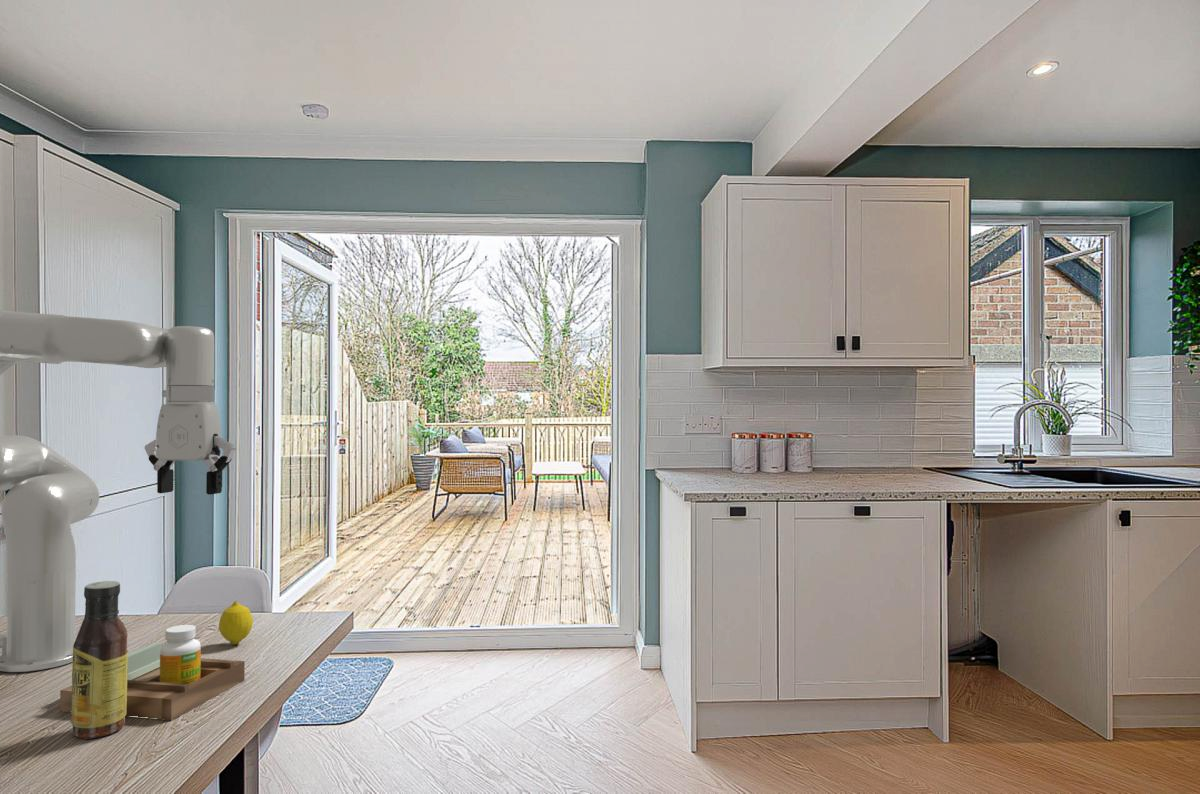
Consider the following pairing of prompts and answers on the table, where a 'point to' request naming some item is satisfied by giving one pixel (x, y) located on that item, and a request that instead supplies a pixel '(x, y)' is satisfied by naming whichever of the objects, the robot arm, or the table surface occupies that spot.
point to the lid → (143, 660)
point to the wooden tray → (173, 690)
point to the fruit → (235, 623)
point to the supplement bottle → (180, 656)
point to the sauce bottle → (100, 665)
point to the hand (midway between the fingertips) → (189, 493)
